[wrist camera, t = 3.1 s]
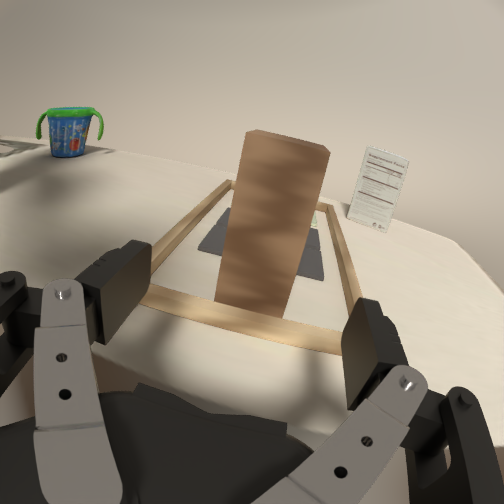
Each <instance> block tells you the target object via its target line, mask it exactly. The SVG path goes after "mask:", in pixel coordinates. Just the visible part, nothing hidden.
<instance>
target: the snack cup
mask: <svg viewBox="0 0 504 504" xmlns="http://www.w3.org/2000/svg"><path fill="white" fill-rule="evenodd" d="M46 115H47V117H48V122H49V137H50V148H51V153H52V155H53V156H55V157H73V156H78V155H81V154H83V152H84V149H85V142H86V139H87V135H88V130H89V126H90V121H91V118H92V116H93V115H96V116H97V117H99V122H100V129H99V134H98V140H100V139H101V137H102V134H103V128H104V126H103V125H104V124H103V119H102V116H101V115H100V113H99V112H97V111H95V109H94V108H92V107H63V108H51V109H48V111H47V112H45V113H43V114H42V115H41V116H40V118H39V120H38V123H37V127H36V138H37V139H38V140H39V139H41V137H42V135H41V123H42V121H43V119H44V118H45V116H46Z"/></svg>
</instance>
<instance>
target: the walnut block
mask: <svg viewBox="0 0 504 504" xmlns="http://www.w3.org/2000/svg"><path fill="white" fill-rule="evenodd" d="M329 156H330V152H329V150H328V149H327V148H326V147H325V146H323V145H319V144H315V143H312V142H308V141H304V140H300V139H296V138H292V137H288V136H284V135H279V134H275V133H270V132H266V131H261V130H254V131H249V132H246V135H245V140H244V145H243V149H242V155H241V159H240V164H239V170H238V174H237V179H236V184H235V189H234V195H233V200H232V205H231V210H230V215H229V221H228V226H227V231H226V237H225V242H224V248H223V253H222V259H221V264H220V270H219V276H218V281H217V287H216V293H215V299H214V302H218V303H221V304H225V305H229V306H233V307H237V308H241V309H244V310H248V311H252V312H256V313H260V314H264V315H268V316H273V317H277V318H281V319H282V317H283V314H284V311H285V308H286V305H287V302H288V299H289V295H290V292H291V289H292V286H293V283H294V279H295V276H296V273H297V270H298V266H299V263H300V260H301V257H302V253H303V250H304V246H305V243H306V240H307V236H308V233H309V229H310V226H311V222H312V219H313V215H314V212H315V208H316V205H317V201H318V198H319V194H320V190H321V187H322V183H323V179H324V176H325V172H326V168H327V164H328V160H329Z"/></svg>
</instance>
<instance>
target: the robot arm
mask: <svg viewBox="0 0 504 504" xmlns="http://www.w3.org/2000/svg"><path fill="white" fill-rule="evenodd" d="M151 258H152V246H151V244H148V243H145V242H141V241H137V240H131V241H130V242H128V243H127V244H126V245H125V246H123V247H122V248H121V249H120V248H117V249H114V250H111V251H109V252H106V253H105V254H104V255H103V256H101V257H100V258H99V260H96V261H95V262H94V263H93V265H90V266H89V267H88V268H87V269H85V270H84V271H83V272H82V273H81V274H79V275H78V276H77V277H76V278H75V279H74V280H73V279H67V278H64V279H57V280H54V281H52V282H50V283H48V284H47V285H46V286H45V287H44V289H39V288H32V287H27V283H26V278H25V276H24V275H23V274H22V273H20V272H17V271H8V272H4V273H1V274H0V324H1V323H2V326H3V329H4V333H3V334H2V335H1V336H0V397H1V396H2V394H3V393H4V392H5V390H6V389H7V388H8V386H9V385H10V384H11V382H12V381H13V380H14V378H15V377H16V376H17V375H18V373H19V372H20V371H21V369H22V368H23V367H24V366H25V364H26V363H27V361H28V360H29V359H30V358H31V357H32V355H33V354H34V401H35V416H34V417H31V418H28V419H25V420H22V421H19V422H15V423H12V424H9V425H6V426H2V427H0V504H358V503H359V501H360V500H361V499H362V497H363V496H364V495H365V494H366V493H367V491H368V490H369V489H370V487H371V486H372V485H373V483H374V482H375V481H376V479H377V478H378V477H379V475H380V474H381V472H382V471H383V469H384V468H385V467H386V465H387V464H388V462H389V461H390V459H391V458H392V456H393V455H394V453H395V452H396V450H397V449H398V447H399V446H401V447H403V448H405V454H406V462H407V473H408V485H409V501H410V504H504V485H503V480H502V475H501V471H500V468H499V464H498V460H497V456H496V453H495V449H494V446H493V443H492V439H491V436H490V433H489V430H488V427H487V424H486V421H485V418H484V415H483V412H482V409H481V407H480V404H479V401H478V399H477V398H476V396H475V395H474V394H473V393H472V392H470V391H469V390H468V389H466V388H463V387H453V388H451V389H450V391H449V392H448V393H447V394H446V396H445V395H442V394H439V393H437V392H434V391H431V390H429V389H428V384H427V381H426V379H425V378H424V376H423V375H422V374H421V373H420V372H419V371H417V370H416V369H414V368H412V367H410V366H409V364H408V361H407V358H406V355H405V352H404V349H403V346H402V344H401V341H400V338H399V336H398V332H397V330H396V327H395V325H394V324H393V323H392V321H391V320H390V319H389V318H388V317H387V316H383V313H382V310H381V307H380V304H379V302H378V301H375V300H370V299H366V298H362V297H359V298H358V299H357V301H356V303H355V305H354V308H353V310H352V312H351V314H350V317H349V319H348V321H347V323H346V326H345V328H344V330H343V333H342V337H341V351H342V359H343V368H344V378H345V388H346V398H347V410H352V411H354V412H353V413H352V414H351V415H350V416H349V417H348V418H347V420H346V421H345V422H344V423H343V424H342V425H341V426H340V427H339V428H338V429H337V430H336V431H335V432H334V433H333V434H332V435H331V436H330V437H329V438H328V439H327V440H326V441H325V442H324V443H323V444H322V445H321V446H320V447H319V448H318V449H317V450H316V451H315V452H314V451H313V450H312V449H311V448H310V447H308V446H307V445H306V444H304V443H303V442H301V441H300V440H298V439H296V438H294V437H293V436H290V435H288V434H286V430H287V423H285V422H280V421H274V420H269V419H265V418H260V417H255V416H251V415H225V414H211V413H207V412H205V411H203V410H201V409H199V408H197V407H195V406H194V405H192V404H190V403H188V402H186V401H184V400H183V399H181V398H179V397H177V396H176V395H174V394H171V393H168V392H165V391H162V390H159V389H156V388H153V387H150V386H148V385H145V384H142V383H138V385H137V387H136V389H135V390H134V392H131V391H110V392H104V393H100V394H99V389H98V385H97V380H96V374H95V369H94V364H93V357H92V351H91V345H92V344H93V342H94V341H96V342H98V343H101V344H103V345H106V344H107V343H108V342H109V340H110V339H111V338H112V336H113V335H114V334H115V333H116V331H117V330H118V329H119V327H120V326H121V325H122V324H123V322H124V321H125V320H126V318H127V317H128V316H129V315H130V313H131V312H132V311H133V309H134V308H135V307H136V306H137V304H138V303H139V302H140V301H141V299H142V298H143V297H144V296H145V294H146V293H147V291H148V288H149V285H150V278H151ZM448 445H449V450H450V455H451V464H450V467H449V469H448V470H447V465H446V459H445V454H444V449H445V448H446V447H447V446H448Z"/></svg>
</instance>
